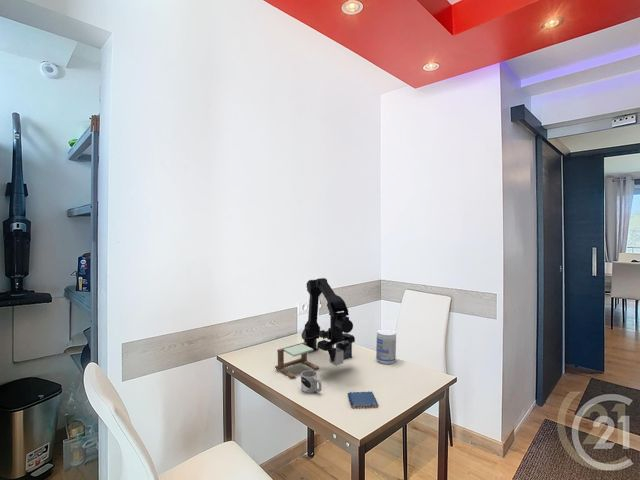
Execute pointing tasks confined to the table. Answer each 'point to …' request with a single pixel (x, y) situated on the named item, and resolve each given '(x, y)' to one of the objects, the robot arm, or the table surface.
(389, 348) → the supplement tub
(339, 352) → the grey rectangular block
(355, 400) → the woven mat
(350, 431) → the table surface
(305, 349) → the trapdoor
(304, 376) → the mug
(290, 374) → the frame
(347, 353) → the box
